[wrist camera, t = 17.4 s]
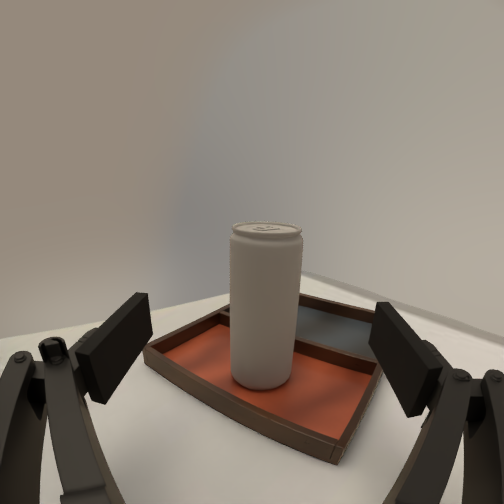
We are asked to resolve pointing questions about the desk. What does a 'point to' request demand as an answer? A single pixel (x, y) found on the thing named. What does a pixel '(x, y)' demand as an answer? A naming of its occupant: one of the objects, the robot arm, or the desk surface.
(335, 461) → the sorting tray
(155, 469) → the desk surface
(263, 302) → the beverage can
